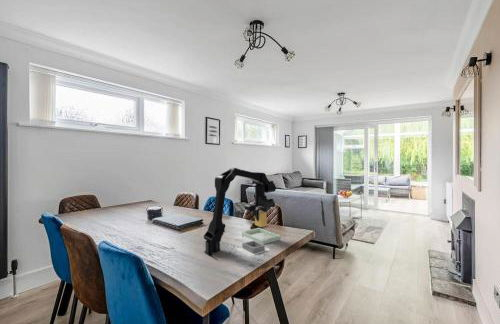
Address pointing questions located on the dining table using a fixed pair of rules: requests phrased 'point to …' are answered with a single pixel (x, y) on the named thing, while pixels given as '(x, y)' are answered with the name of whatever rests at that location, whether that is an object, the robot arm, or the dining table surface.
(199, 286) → the dining table surface
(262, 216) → the tan rectangular block
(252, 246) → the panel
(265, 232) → the parts tray
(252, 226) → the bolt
